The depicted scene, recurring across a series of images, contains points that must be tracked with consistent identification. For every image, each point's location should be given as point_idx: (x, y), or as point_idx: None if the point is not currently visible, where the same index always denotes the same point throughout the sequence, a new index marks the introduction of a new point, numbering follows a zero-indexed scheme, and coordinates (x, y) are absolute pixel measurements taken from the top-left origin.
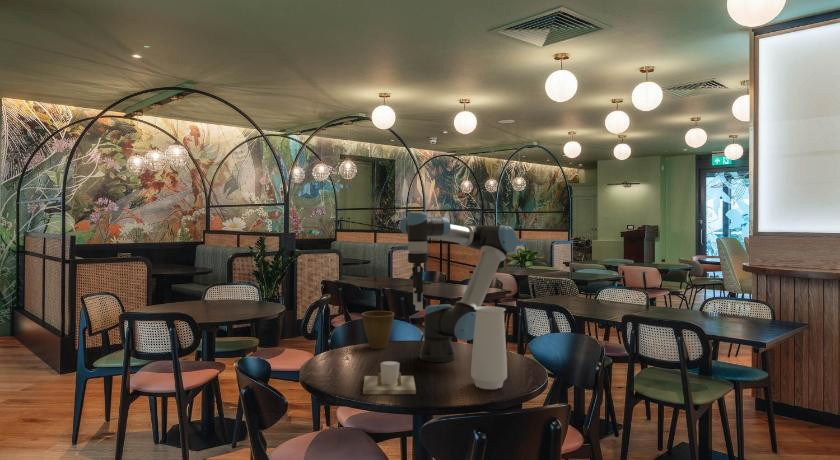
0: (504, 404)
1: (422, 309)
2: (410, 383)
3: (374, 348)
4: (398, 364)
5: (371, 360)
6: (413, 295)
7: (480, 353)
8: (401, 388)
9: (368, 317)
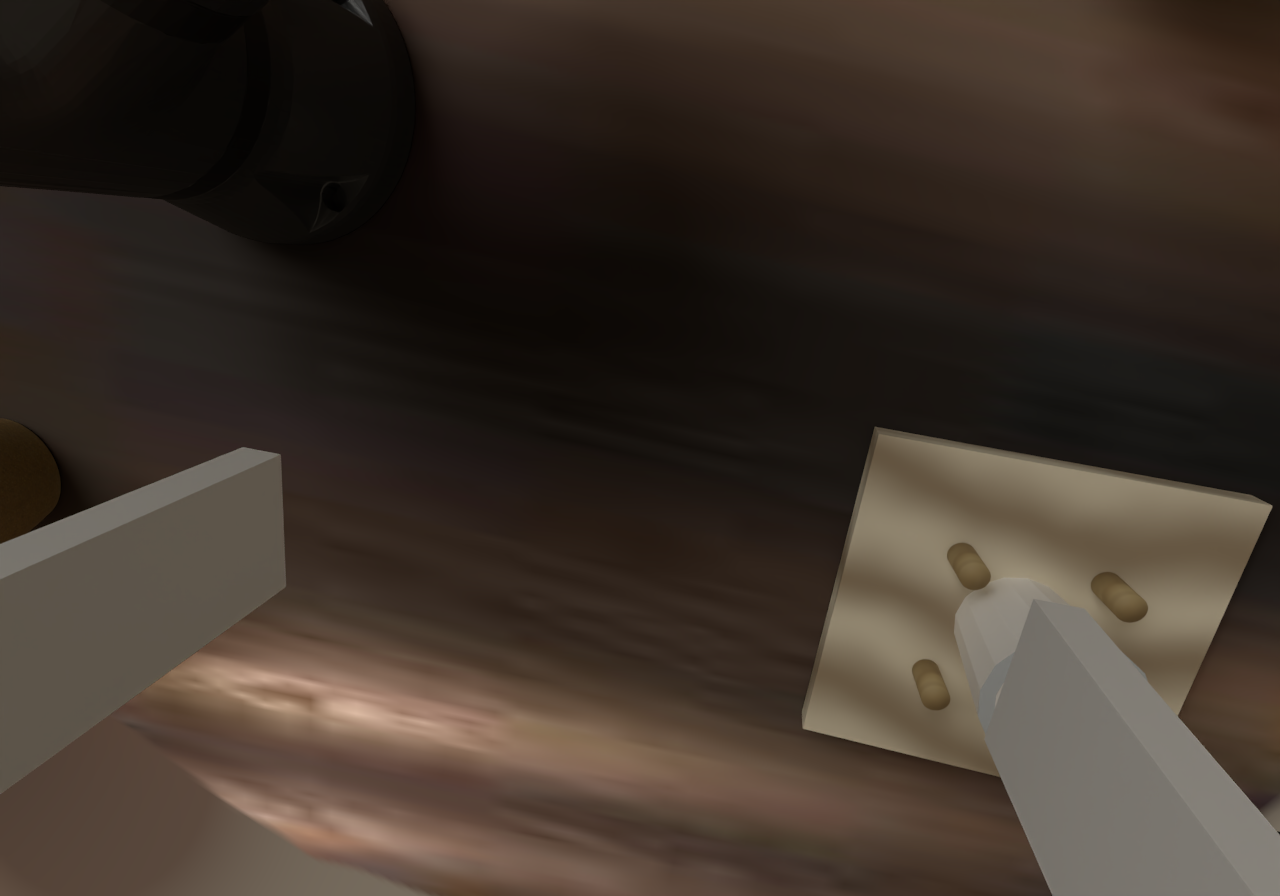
0: None
1: (1093, 624)
2: (1087, 502)
3: (56, 502)
4: (1126, 656)
5: (342, 577)
6: (114, 706)
7: None
8: (1197, 590)
9: None
